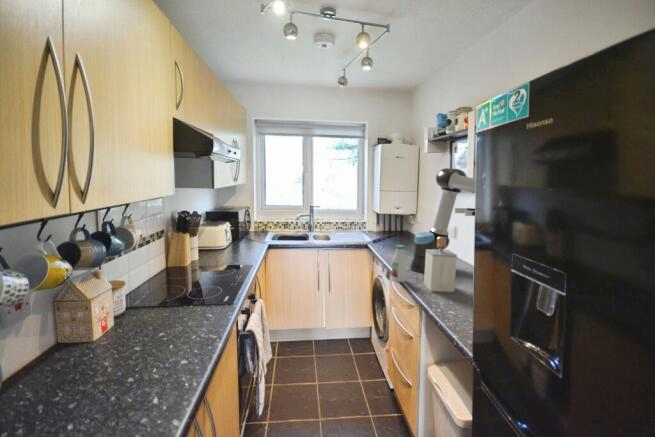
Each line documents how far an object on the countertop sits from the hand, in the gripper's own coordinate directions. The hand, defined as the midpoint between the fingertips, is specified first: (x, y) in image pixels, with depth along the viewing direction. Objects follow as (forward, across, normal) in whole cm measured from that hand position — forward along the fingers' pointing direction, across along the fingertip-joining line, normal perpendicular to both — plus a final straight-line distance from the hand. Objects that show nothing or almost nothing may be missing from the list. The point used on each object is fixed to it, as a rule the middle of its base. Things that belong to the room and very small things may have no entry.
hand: (459, 211), depth 171 cm
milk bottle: (+30, +4, -40) cm, 50 cm away
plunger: (+11, -6, -39) cm, 41 cm away
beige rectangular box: (+11, -8, -40) cm, 42 cm away
